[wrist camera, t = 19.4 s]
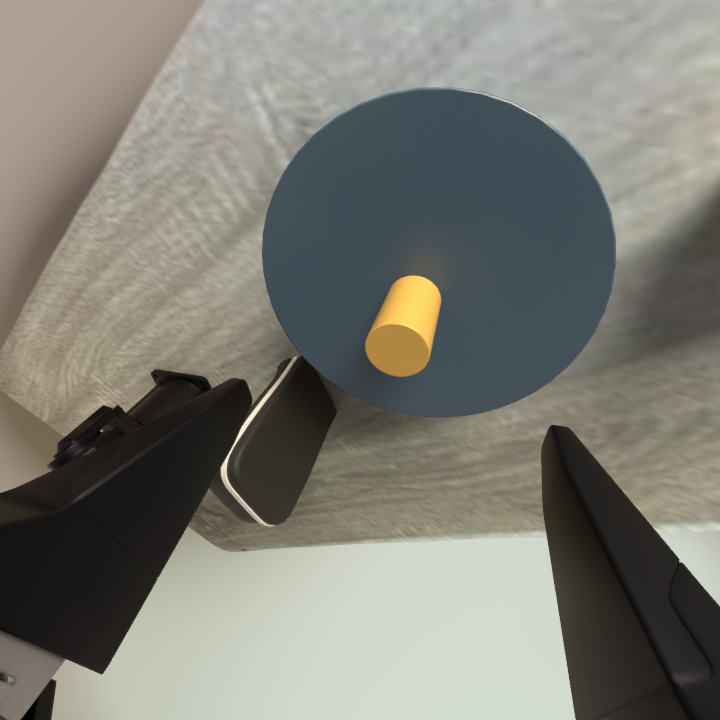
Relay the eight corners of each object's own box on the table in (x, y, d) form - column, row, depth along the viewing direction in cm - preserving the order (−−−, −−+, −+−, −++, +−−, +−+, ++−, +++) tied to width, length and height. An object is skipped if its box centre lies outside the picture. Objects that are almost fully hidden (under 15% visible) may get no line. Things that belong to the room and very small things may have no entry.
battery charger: (269, 356, 29) (177, 470, 20) (306, 350, 27) (223, 471, 19) (305, 415, 32) (240, 533, 24) (340, 412, 31) (283, 538, 22)
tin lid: (302, 385, 23) (264, 447, 19) (235, 106, 14) (136, 114, 10) (551, 421, 19) (567, 508, 15) (688, 60, 10) (823, 44, 6)
